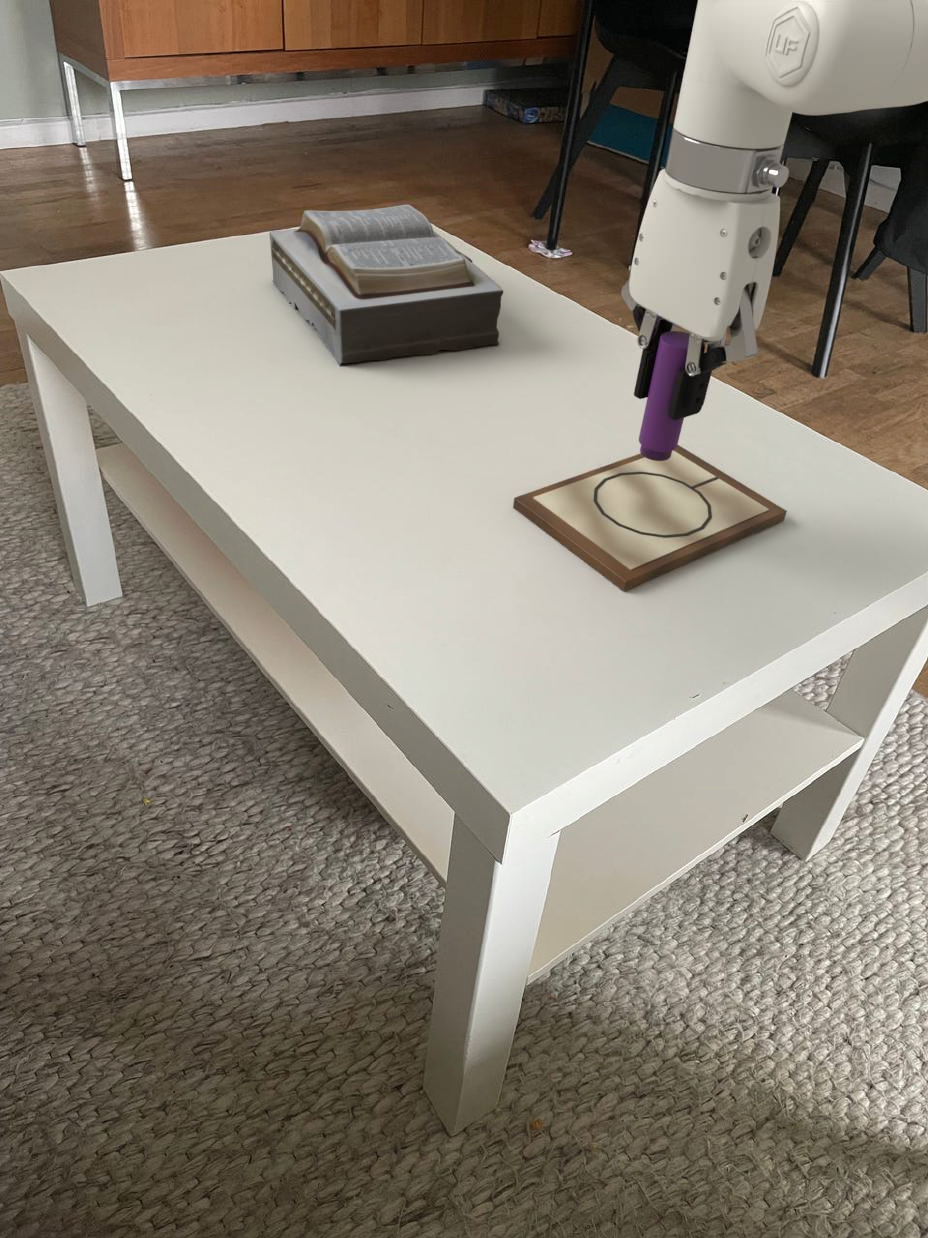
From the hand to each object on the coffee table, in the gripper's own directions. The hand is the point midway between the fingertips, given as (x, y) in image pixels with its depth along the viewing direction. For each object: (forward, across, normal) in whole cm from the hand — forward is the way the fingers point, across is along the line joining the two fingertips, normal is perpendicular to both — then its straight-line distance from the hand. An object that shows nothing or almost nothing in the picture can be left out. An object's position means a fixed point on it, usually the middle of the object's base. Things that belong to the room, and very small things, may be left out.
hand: (667, 402), depth 81 cm
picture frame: (+11, 0, -2) cm, 11 cm away
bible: (+12, +48, -4) cm, 49 cm away
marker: (+5, 0, 0) cm, 5 cm away
